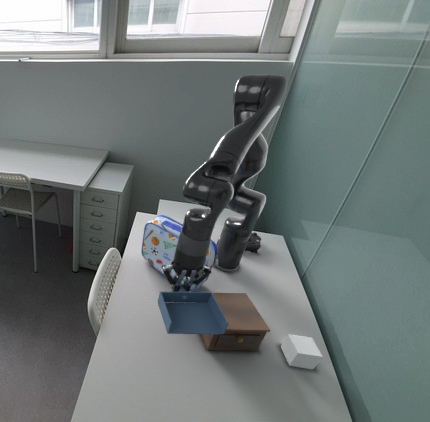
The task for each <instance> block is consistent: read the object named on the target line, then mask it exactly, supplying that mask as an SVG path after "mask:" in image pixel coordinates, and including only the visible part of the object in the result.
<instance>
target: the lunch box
mask: <svg viewBox="0 0 430 422" xmlns="http://www.w3.org/2000/svg"><path fill="white" fill-rule="evenodd" d="M182 226H183V223H180V222H179V221H177V220H175V219H173V218H172V217H170V216H167V215H164V214H159V215H157V216H156V218H153V219H152V220H149V221H147V222H146V223H145V225H144V228H143V235H142V243H141V256H142V257H143V259H144V260H145V261H146V262H147V263H149V264H150V265H151V266H152V267H153V268H154V269H156V270H157V271H158V272H159V273H160V274H161V275H163V276H164V277H165V278H166V276H165V274H164V272H163V269H162V265H166V266H168V265H171V262H172V261H173V260H174V255H175V251H176V247H177V243H178V238H179V235H180V233H181V230H182ZM216 244H217V242H215V241H214V240H213V239H211V240H210V245H209V249H208V252H207V255H206V258H205V261H204V264H203V265H208V266H209V268H210V270H211V271H212V269H213V268H214V267H216V266H217V265H218V256H217V254H218V247H217V245H216ZM215 265H216V266H215ZM171 271H174V270H173V269H172V270H171ZM171 273H172V272H171ZM170 275H171V274H170ZM210 275H211V274H209V275H208V276H207V277H206V278H205V279H204V280H203V281H202V282H201V283H199V284H198V285H196V284H193V285H192V286H191V288H190V292H195V291H196V290H198V289H199V288H200V287H201V286H202V285H203V284H204V283H205V282H206V281H208V279H209V277H210ZM171 277H172V275H171ZM185 278H186V277H184V279H183V281H182V283H183V284H184V281H186V280H185ZM198 278H199V277H198ZM198 278H197V279H198Z"/></svg>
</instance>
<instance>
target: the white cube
mask: <svg viewBox="0 0 430 422" xmlns="http://www.w3.org/2000/svg"><path fill="white" fill-rule="evenodd" d="M280 348H281V350H282V353H283V355H284V357H285V359H286V361H287V363H288V364H287V365H288V366H289V367H295V368H302V369H308V370H314V369H315V368H316V367H317V366H318V364H319V363H320V361H321V360H322V359H323V357H324V356H323V354H322V352H321V351H320V349H319V347H318V346H317V343H316V342H315V340H314V339H313V337H311V336H305V335H304V336H303V335H297V334H289V333H287V336H286V338H285V339H284V341H283V342H282V344H281V345H280Z"/></svg>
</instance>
